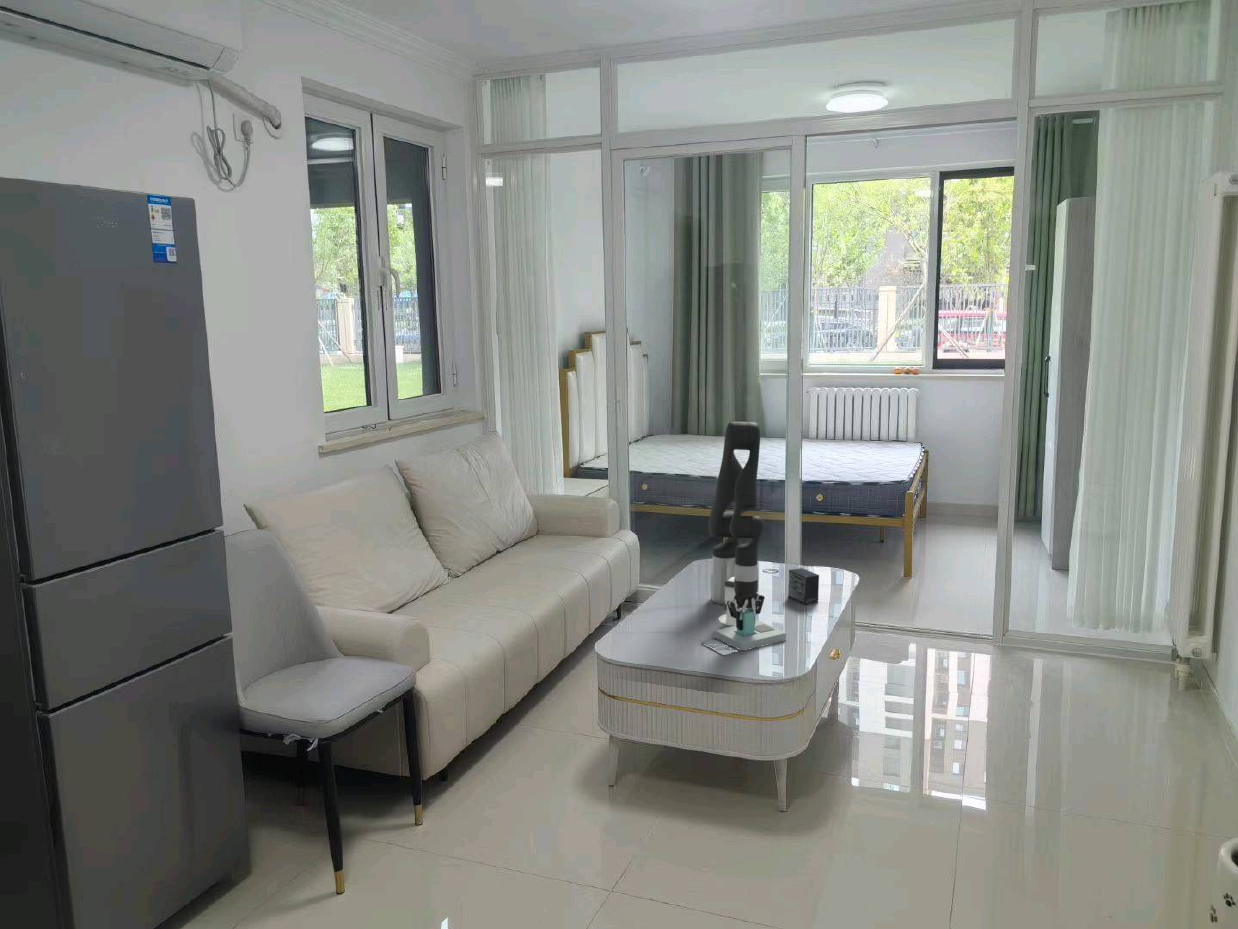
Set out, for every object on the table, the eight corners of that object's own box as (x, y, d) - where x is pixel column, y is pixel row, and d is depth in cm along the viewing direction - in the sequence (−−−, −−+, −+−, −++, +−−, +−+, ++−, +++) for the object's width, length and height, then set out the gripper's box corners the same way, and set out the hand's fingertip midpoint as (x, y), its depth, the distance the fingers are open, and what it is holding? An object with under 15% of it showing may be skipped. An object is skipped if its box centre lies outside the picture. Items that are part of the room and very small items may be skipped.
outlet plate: (714, 637, 303) (714, 629, 303) (758, 627, 312) (758, 619, 312) (741, 651, 291) (741, 643, 291) (786, 640, 300) (786, 632, 300)
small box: (819, 602, 336) (820, 574, 335) (804, 605, 334) (805, 577, 332) (801, 594, 346) (802, 567, 344) (787, 597, 343) (788, 569, 341)
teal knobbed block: (736, 637, 301) (737, 609, 299) (746, 635, 303) (747, 606, 301) (744, 641, 298) (744, 612, 296) (754, 638, 300) (754, 610, 298)
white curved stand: (726, 612, 327) (726, 571, 325) (757, 617, 322) (757, 575, 319) (713, 622, 317) (713, 580, 314) (744, 628, 312) (745, 584, 309)
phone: (723, 657, 288) (723, 654, 288) (700, 645, 298) (700, 642, 298) (738, 653, 291) (738, 650, 291) (716, 642, 301) (716, 638, 301)
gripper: (756, 570, 304) (755, 621, 307) (721, 577, 297) (720, 629, 300) (771, 576, 297) (770, 627, 300) (735, 583, 290) (734, 636, 293)
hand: (745, 628), depth 300 cm, fingers closed on teal knobbed block, 4 cm apart
